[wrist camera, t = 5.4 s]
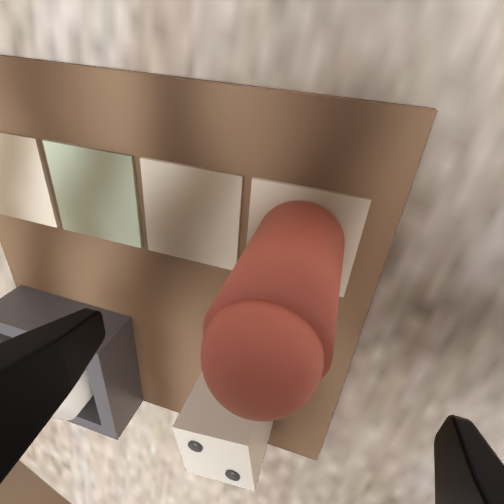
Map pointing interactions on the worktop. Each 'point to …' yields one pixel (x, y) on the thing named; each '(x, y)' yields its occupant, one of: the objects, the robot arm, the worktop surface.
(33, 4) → the worktop surface
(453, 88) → the worktop surface
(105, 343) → the frame
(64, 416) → the dome
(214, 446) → the die
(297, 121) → the board
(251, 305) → the red cylinder
